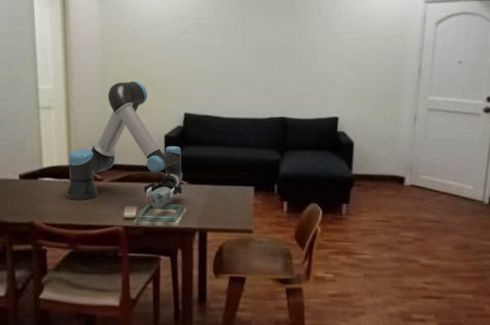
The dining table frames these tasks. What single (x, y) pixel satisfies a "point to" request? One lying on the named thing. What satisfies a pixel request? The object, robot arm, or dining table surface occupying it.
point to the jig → (161, 215)
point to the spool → (160, 197)
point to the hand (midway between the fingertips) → (159, 194)
